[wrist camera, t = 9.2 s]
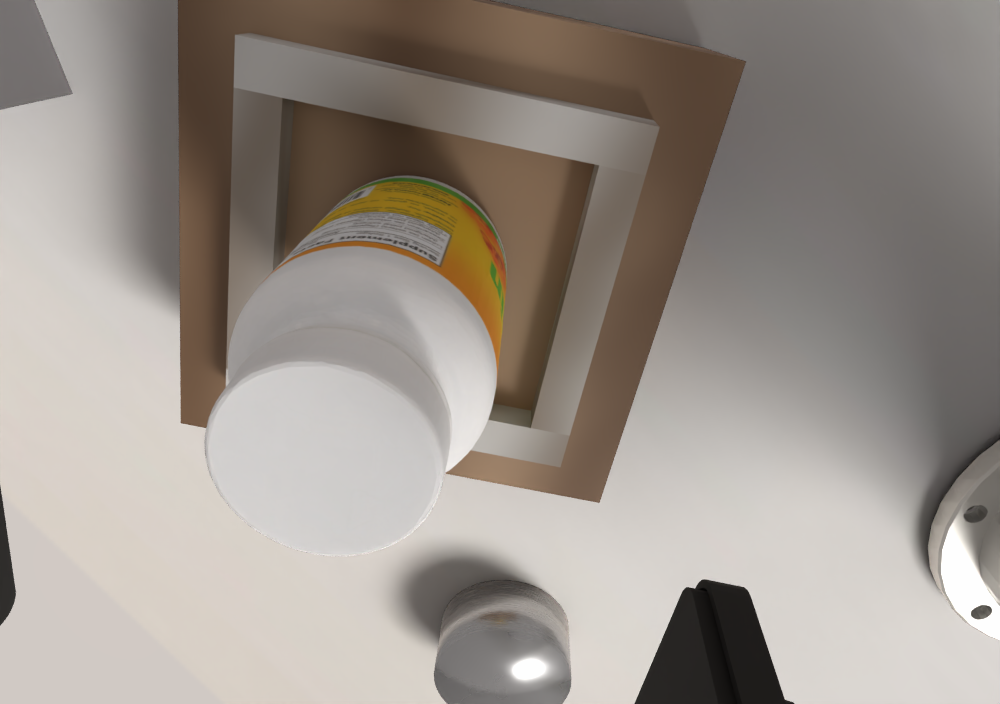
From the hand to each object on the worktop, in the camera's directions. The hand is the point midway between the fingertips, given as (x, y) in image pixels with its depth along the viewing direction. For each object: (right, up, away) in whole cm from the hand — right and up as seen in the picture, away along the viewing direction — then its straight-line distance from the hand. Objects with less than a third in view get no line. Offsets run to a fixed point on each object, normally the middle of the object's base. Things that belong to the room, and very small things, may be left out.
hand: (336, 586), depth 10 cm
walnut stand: (0, +8, +15) cm, 17 cm away
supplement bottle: (0, +6, +11) cm, 12 cm away
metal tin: (+2, -10, +24) cm, 26 cm away
